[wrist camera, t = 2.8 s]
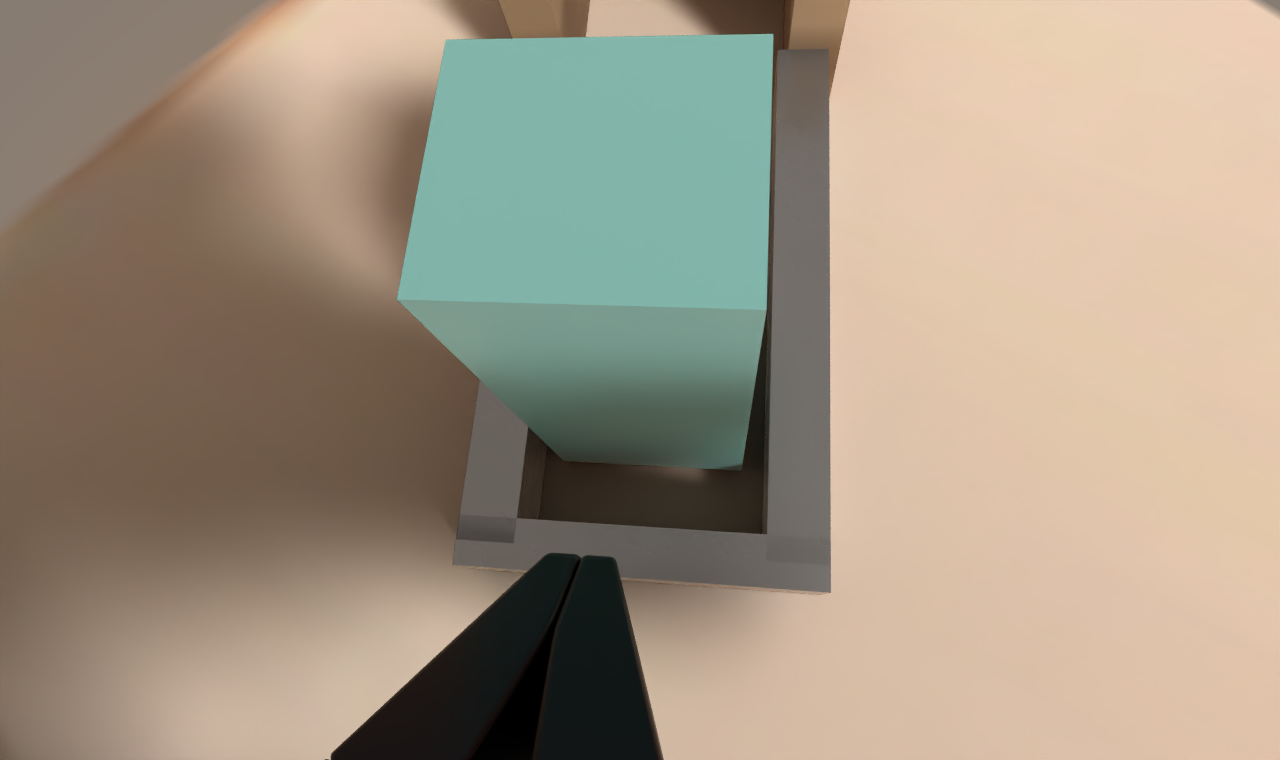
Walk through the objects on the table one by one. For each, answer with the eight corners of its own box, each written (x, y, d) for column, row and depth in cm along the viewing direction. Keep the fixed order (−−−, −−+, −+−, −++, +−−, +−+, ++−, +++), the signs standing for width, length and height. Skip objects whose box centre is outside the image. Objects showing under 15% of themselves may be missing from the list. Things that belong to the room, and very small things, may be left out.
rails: (818, 594, 15) (830, 592, 14) (480, 569, 16) (452, 564, 15) (819, 99, 19) (828, 48, 17) (543, 101, 20) (527, 53, 18)
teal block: (741, 471, 16) (766, 309, 7) (563, 460, 16) (397, 299, 8) (752, 157, 18) (780, -236, 10) (596, 157, 19) (494, -218, 10)
